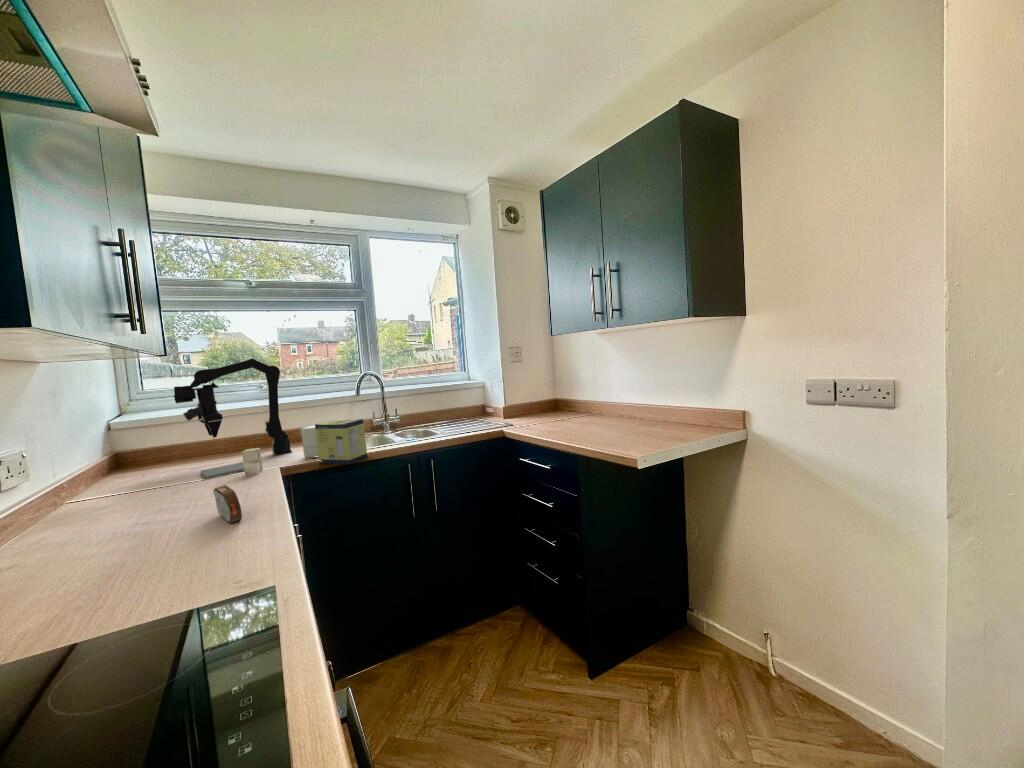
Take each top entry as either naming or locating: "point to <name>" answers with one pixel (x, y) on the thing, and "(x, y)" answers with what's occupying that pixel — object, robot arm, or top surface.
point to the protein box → (341, 441)
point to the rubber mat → (223, 470)
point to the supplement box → (309, 441)
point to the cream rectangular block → (252, 461)
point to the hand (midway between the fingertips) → (212, 436)
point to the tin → (227, 504)
